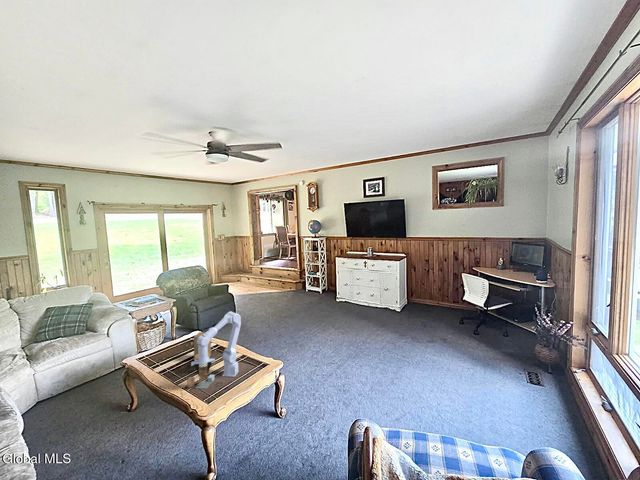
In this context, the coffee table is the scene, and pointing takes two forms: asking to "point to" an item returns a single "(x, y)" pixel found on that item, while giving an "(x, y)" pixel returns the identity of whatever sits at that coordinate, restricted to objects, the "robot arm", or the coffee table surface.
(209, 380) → the blue plastic box
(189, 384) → the tan rounded cylinder
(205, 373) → the walnut block
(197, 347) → the wooden block
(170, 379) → the coffee table surface
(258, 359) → the coffee table surface
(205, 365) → the lidded jar
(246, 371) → the coffee table surface
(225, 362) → the robot arm
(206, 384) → the slate coaster
